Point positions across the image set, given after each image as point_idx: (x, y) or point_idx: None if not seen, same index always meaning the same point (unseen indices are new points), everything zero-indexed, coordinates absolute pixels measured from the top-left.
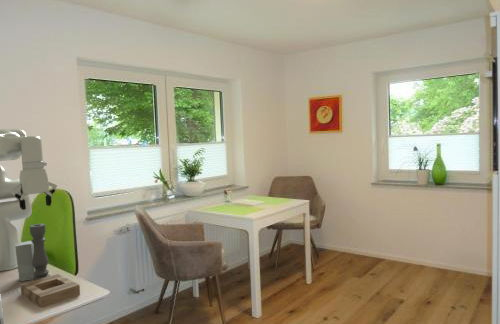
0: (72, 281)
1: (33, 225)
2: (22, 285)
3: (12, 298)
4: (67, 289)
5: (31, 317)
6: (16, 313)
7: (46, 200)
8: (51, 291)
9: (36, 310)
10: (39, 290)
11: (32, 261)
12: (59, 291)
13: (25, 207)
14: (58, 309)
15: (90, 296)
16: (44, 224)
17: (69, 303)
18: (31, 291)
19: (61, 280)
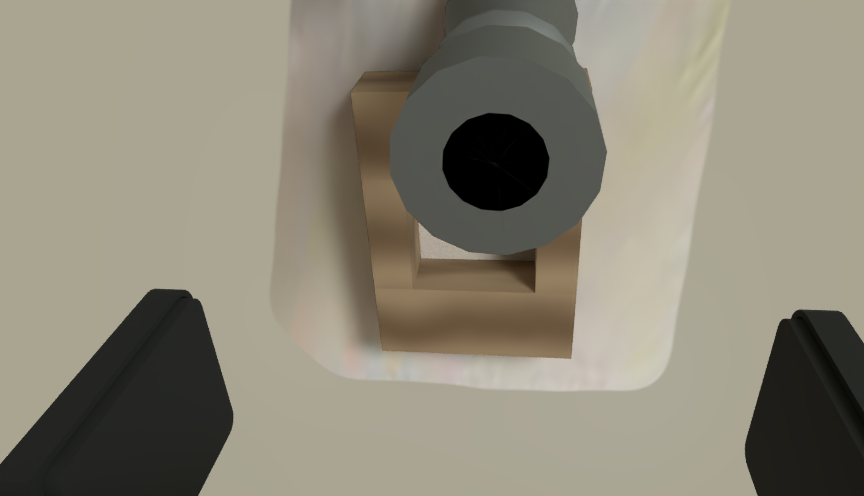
0: (573, 296)
1: (451, 121)
2: (354, 123)
3: (314, 94)
4: (507, 352)
5: (337, 363)
6: (299, 288)
7: (824, 459)
8: (439, 331)
9: (368, 323)
10: (402, 276)
11: (446, 22)
12: (468, 352)
13: (215, 451)
14: (434, 379)
15: (585, 372)
16: (585, 199)
17: (489, 365)
18: (370, 250)
19: None
